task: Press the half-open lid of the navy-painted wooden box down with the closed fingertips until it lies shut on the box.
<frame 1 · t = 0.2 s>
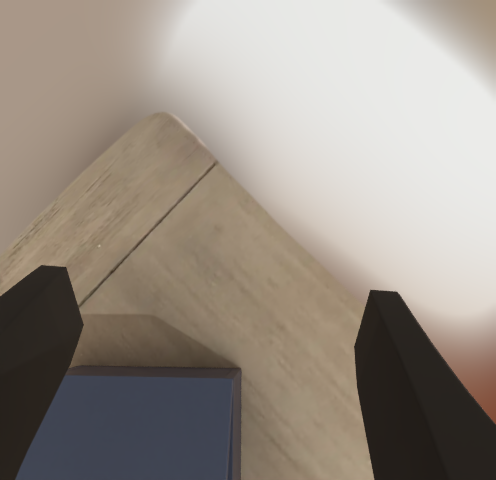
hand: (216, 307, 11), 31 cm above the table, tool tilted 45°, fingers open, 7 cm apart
box: (156, 431, 40), on the table
lid: (119, 464, 31), point 9 cm above the table, hinge at 25.0°
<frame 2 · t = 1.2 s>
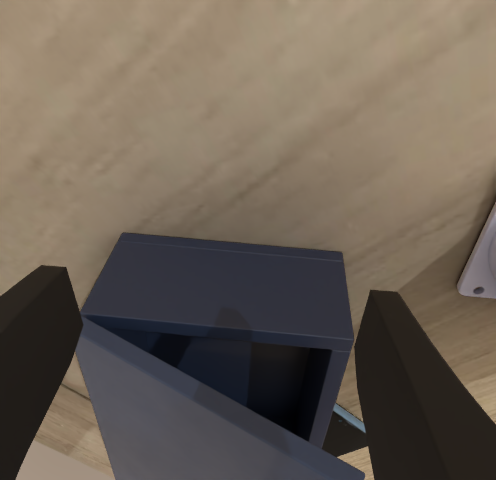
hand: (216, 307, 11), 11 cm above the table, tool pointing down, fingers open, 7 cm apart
box: (228, 338, 28), on the table
smartphone: (275, 440, 35), on the table, touching box
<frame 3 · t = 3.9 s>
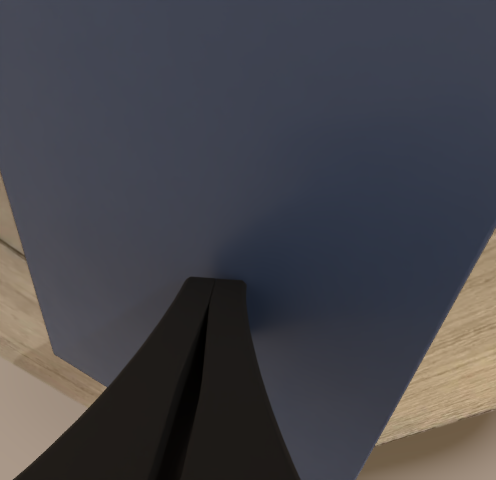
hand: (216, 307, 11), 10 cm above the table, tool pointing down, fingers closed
lid: (179, 267, 12), point 9 cm above the table, hinge at 24.5°, touching gripper
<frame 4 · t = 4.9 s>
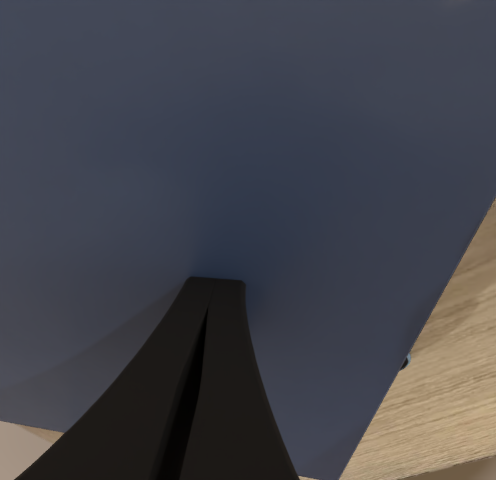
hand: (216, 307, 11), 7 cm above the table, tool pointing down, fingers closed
lid: (167, 287, 11), point 7 cm above the table, hinge at 2.8°, touching gripper
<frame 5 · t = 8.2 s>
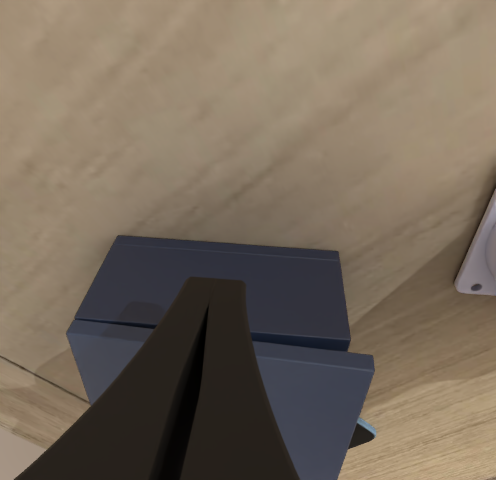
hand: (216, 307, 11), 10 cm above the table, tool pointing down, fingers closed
box: (226, 339, 27), on the table
lid: (219, 441, 22), point 7 cm above the table, hinge at 2.8°
smartphone: (276, 437, 35), on the table
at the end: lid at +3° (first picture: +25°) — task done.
